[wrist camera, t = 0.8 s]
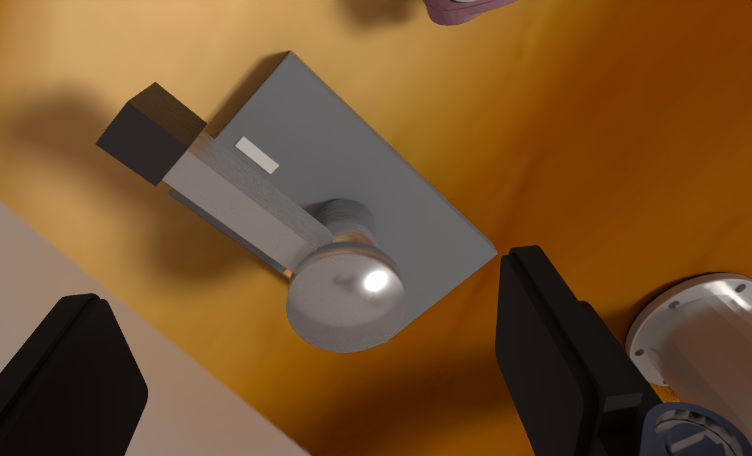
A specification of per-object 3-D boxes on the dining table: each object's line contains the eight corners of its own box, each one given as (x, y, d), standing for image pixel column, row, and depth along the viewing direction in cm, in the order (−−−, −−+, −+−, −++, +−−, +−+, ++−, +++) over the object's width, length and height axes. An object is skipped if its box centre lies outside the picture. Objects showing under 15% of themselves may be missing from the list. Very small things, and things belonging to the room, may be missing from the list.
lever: (409, 225, 33) (431, 304, 25) (346, 280, 35) (349, 369, 27) (198, 40, 26) (143, 73, 18) (133, 122, 28) (60, 183, 20)
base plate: (492, 242, 36) (498, 254, 35) (381, 332, 40) (382, 345, 38) (290, 50, 28) (288, 55, 27) (174, 183, 32) (167, 194, 30)
